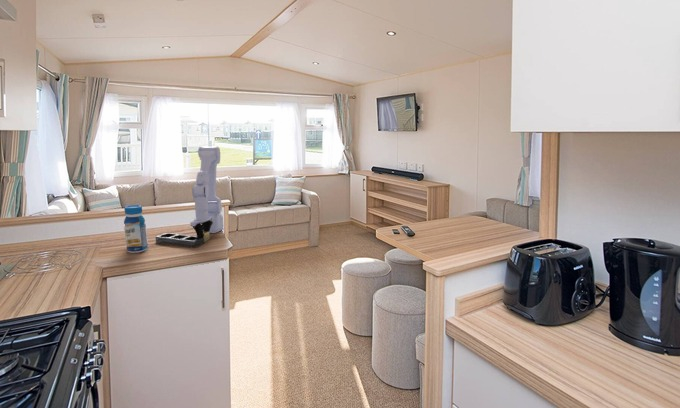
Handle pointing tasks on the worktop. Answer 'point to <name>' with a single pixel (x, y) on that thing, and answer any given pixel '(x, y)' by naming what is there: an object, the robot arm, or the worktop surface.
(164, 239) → the cabinet frame
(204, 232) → the wooden knob block
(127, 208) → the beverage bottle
